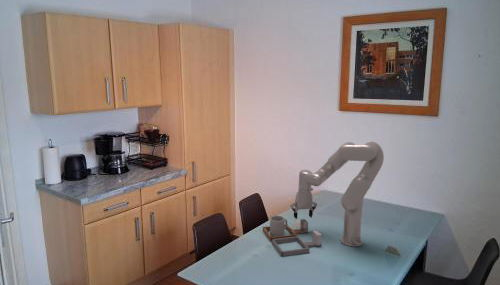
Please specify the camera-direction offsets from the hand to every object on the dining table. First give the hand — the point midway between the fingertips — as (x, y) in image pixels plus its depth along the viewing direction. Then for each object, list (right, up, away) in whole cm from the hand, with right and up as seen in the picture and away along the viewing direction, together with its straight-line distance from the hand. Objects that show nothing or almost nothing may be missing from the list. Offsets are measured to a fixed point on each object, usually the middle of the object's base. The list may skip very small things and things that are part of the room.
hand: (303, 217), depth 227 cm
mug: (-15, -10, -3) cm, 18 cm away
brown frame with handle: (-10, -10, -1) cm, 14 cm away
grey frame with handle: (-5, -13, -19) cm, 23 cm away
